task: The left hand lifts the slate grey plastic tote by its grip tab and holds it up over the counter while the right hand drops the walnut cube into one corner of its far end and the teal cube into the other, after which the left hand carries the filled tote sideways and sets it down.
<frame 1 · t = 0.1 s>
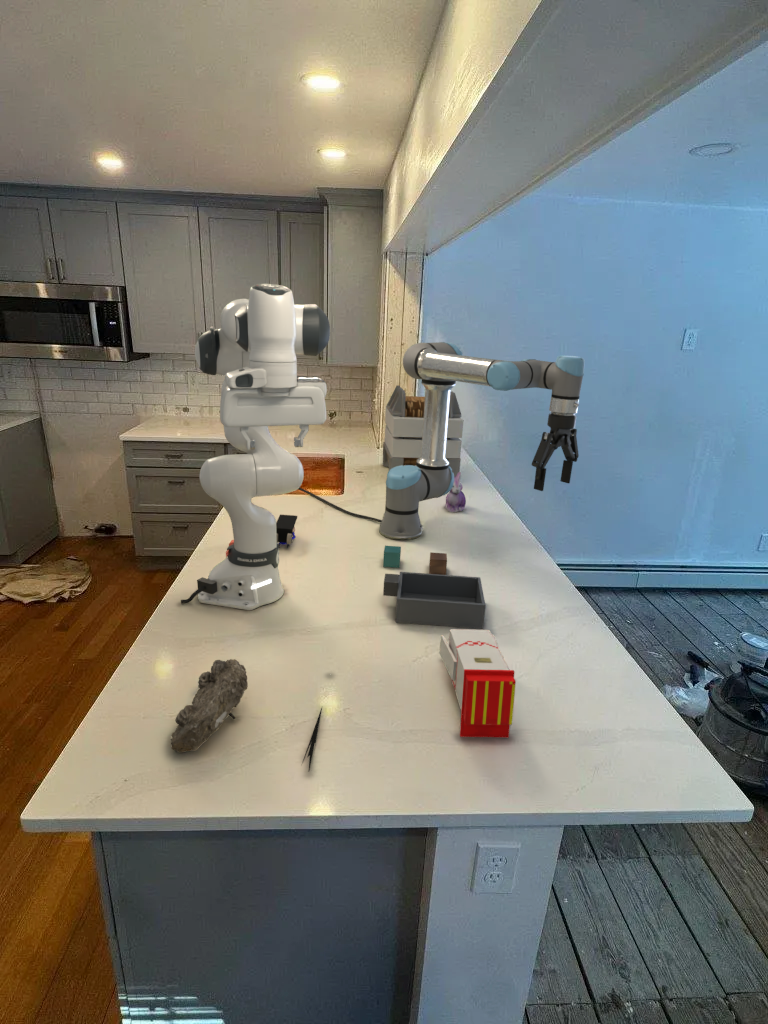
left hand: (275, 447, 112), 48 cm above the counter, fingers open, 8 cm apart
right hand: (551, 486, 166), 28 cm above the counter, fingers open, 13 cm apart
walnut cube: (437, 571, 173), on the counter
bin: (438, 610, 150), on the counter
teal cube: (391, 563, 176), on the counter
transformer: (418, 473, 275), on the counter
figurine: (455, 509, 227), on the counter
feather: (319, 719, 109), on the counter
toy: (471, 691, 119), on the counter
figurine character: (285, 542, 188), on the counter
fossil: (215, 716, 108), on the counter
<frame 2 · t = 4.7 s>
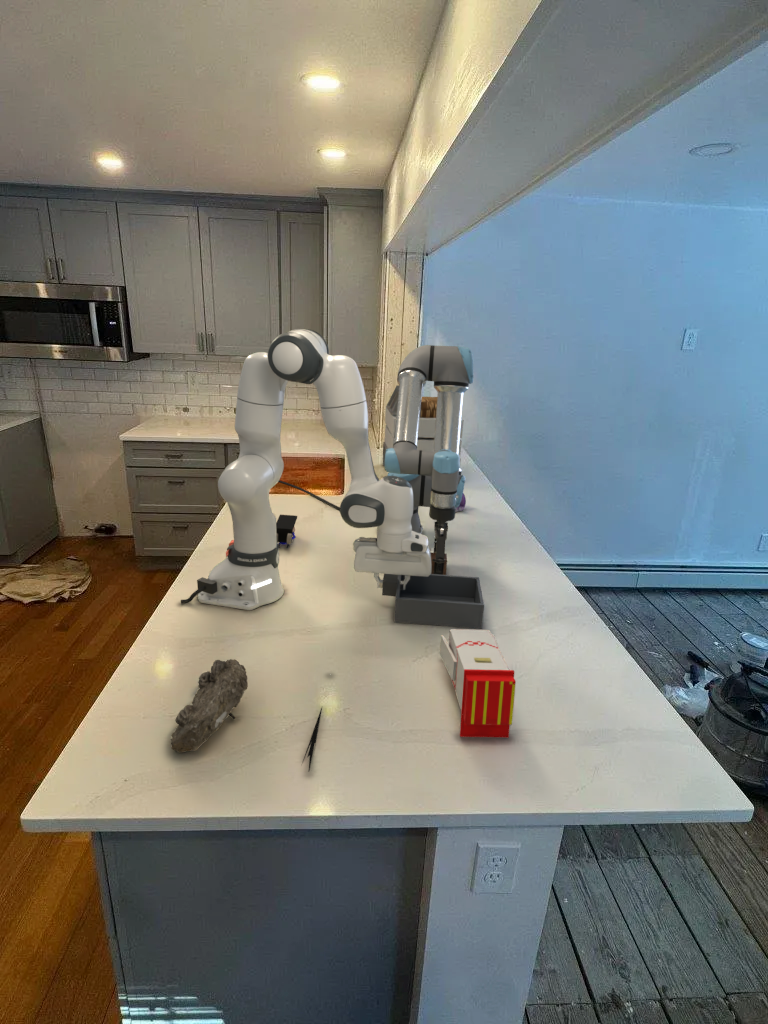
left hand: (391, 587, 149), 6 cm above the counter, fingers closed on bin, 4 cm apart
right hand: (437, 571, 172), 0 cm above the counter, fingers open, 13 cm apart
bin: (437, 610, 150), on the counter, touching left hand
everything else where it was.
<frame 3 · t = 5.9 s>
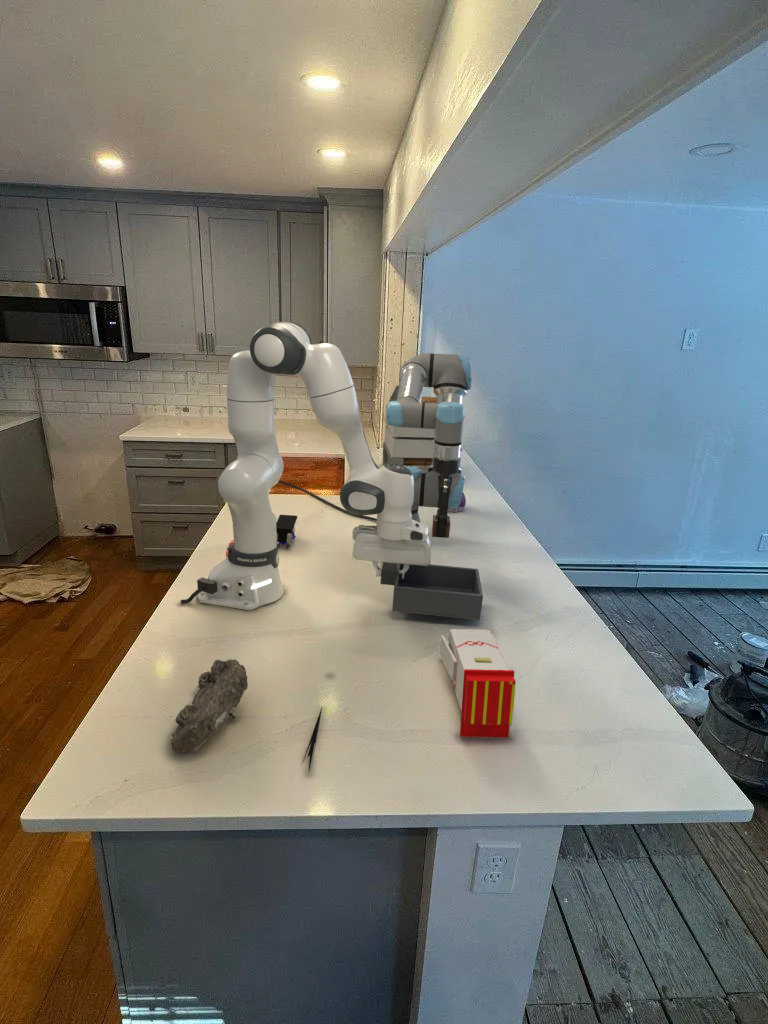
left hand: (390, 576, 148), 9 cm above the counter, fingers closed on bin, 4 cm apart
right hand: (440, 533, 169), 12 cm above the counter, fingers closed on walnut cube, 5 cm apart
walnut cube: (440, 534, 169), point 12 cm above the counter, touching right hand
bin: (435, 600, 149), point 3 cm above the counter, touching left hand
everything else where it was.
when the right hand's fingers open (29 cm above the counter, at t = 9.8 s): walnut cube drops 21 cm, resting on bin.
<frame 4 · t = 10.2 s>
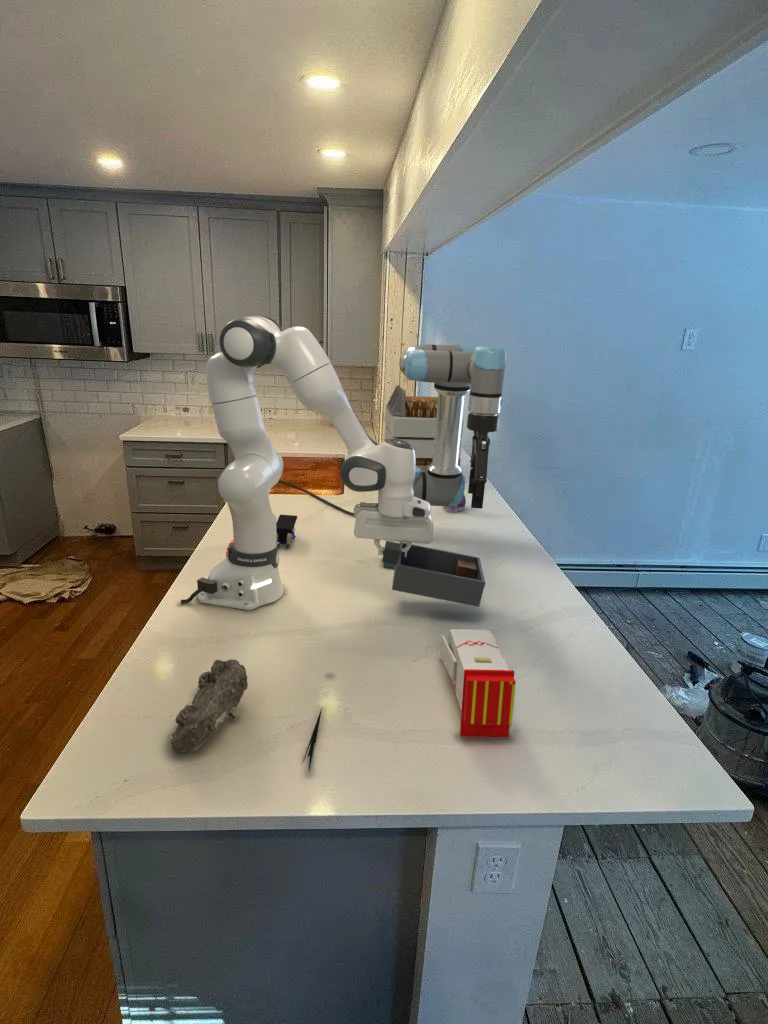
left hand: (392, 555, 146), 15 cm above the counter, fingers closed on bin, 4 cm apart
right hand: (474, 500, 143), 30 cm above the counter, fingers open, 11 cm apart
walnut cube: (462, 580, 151), point 7 cm above the counter, tilted 8°, touching bin
bin: (435, 584, 148), point 8 cm above the counter, tilted 8°, touching left hand, walnut cube
everything else where it was.
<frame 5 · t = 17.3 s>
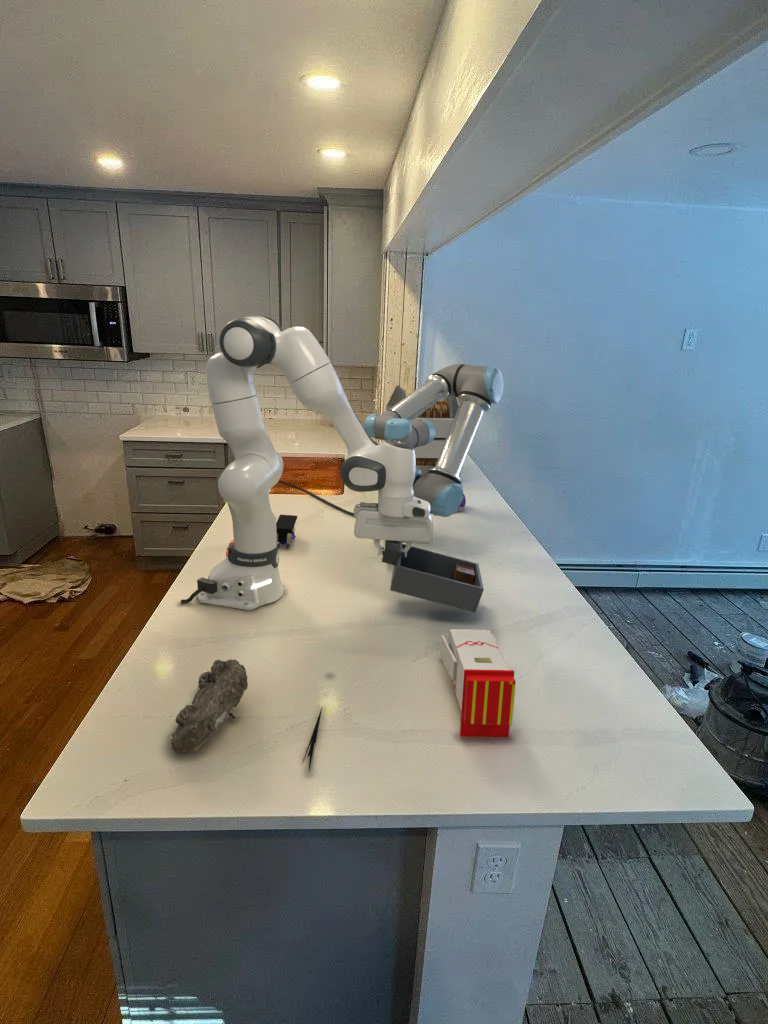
left hand: (392, 555, 146), 15 cm above the counter, fingers closed on bin, 4 cm apart
right hand: (393, 544, 174), 6 cm above the counter, fingers closed on teal cube, 5 cm apart
walnut cube: (460, 585, 152), point 6 cm above the counter, tilted 12°, touching bin
bin: (432, 587, 148), point 7 cm above the counter, tilted 12°, touching left hand, walnut cube
teal cube: (393, 545, 175), point 6 cm above the counter, touching right hand
everything else where it was.
when the right hand's fingers open (29 cm above the counter, at t = 23.2 s): teal cube drops 24 cm and tips over, resting on bin.
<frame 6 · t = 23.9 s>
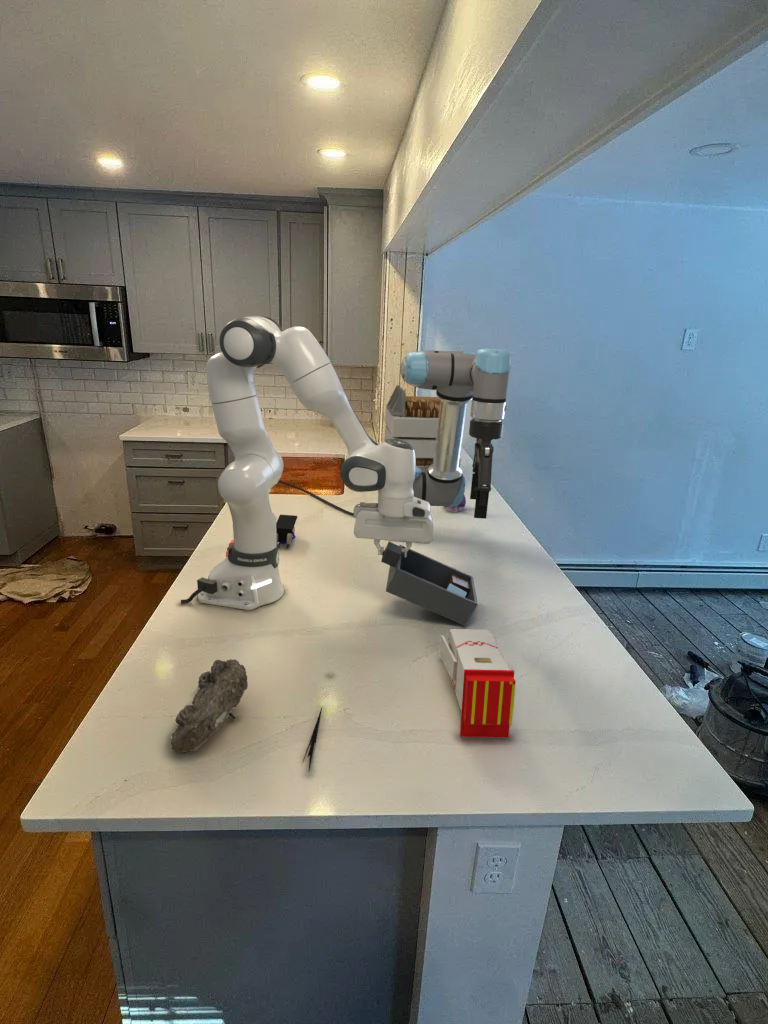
left hand: (392, 555, 146), 15 cm above the counter, fingers closed on bin, 4 cm apart
right hand: (477, 508, 136), 31 cm above the counter, fingers open, 13 cm apart
walnut cube: (452, 596, 153), point 3 cm above the counter, tilted 21°, touching bin
bin: (425, 594, 149), point 5 cm above the counter, tilted 21°, touching left hand, teal cube, walnut cube
teal cube: (461, 603, 145), point 5 cm above the counter, tilted 69°, touching bin
everything else where it was.
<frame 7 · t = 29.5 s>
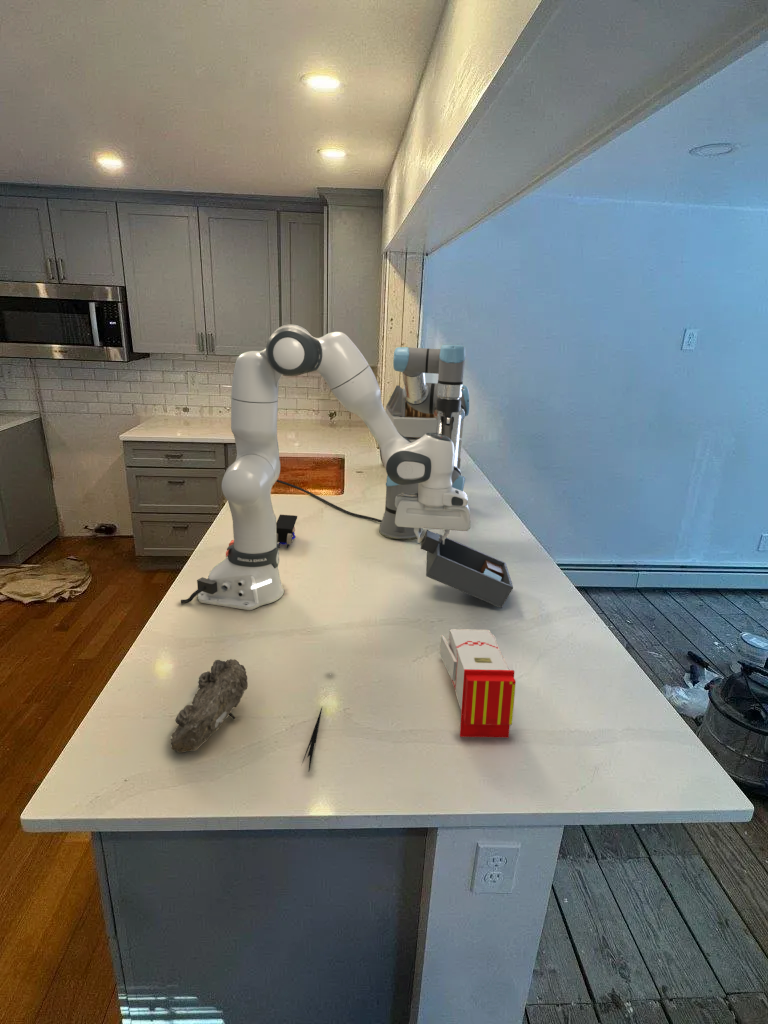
left hand: (430, 542, 154), 15 cm above the counter, fingers closed on bin, 4 cm apart
right hand: (443, 465, 179), 29 cm above the counter, fingers open, 13 cm apart
walnut cube: (486, 581, 161), point 3 cm above the counter, tilted 21°, touching bin
bin: (462, 579, 157), point 5 cm above the counter, tilted 21°, touching left hand, teal cube, walnut cube
teal cube: (496, 587, 153), point 5 cm above the counter, tilted 70°, touching bin
everything else where it was.
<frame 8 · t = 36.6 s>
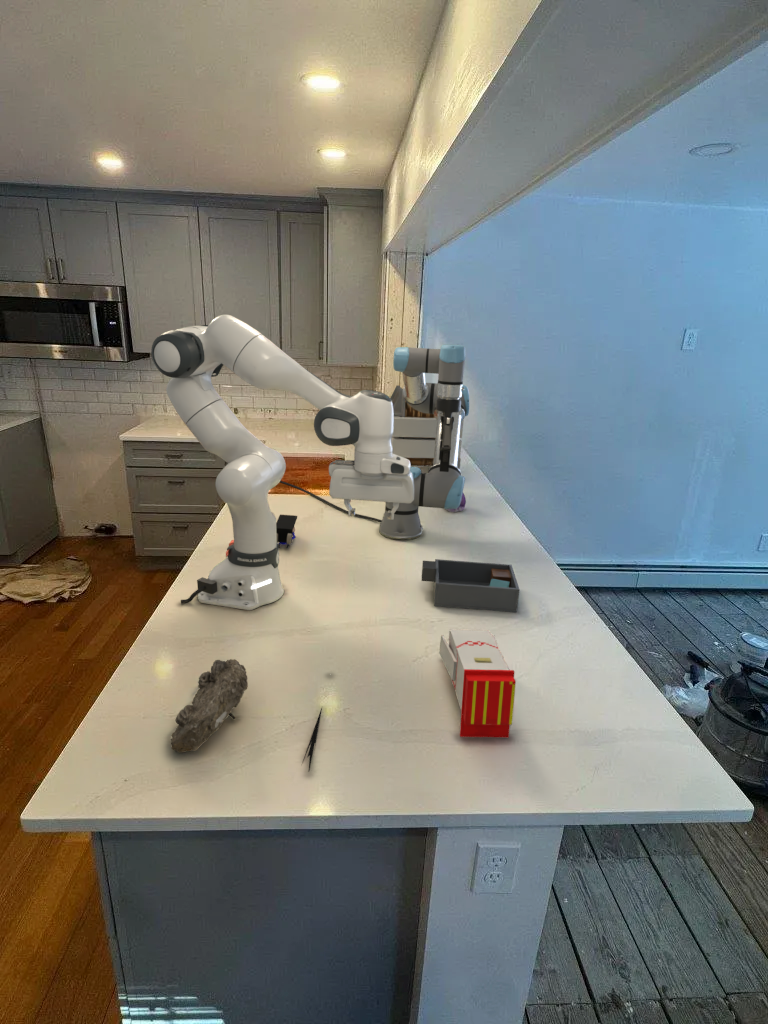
left hand: (371, 517, 137), 27 cm above the counter, fingers open, 8 cm apart
right hand: (443, 465, 179), 29 cm above the counter, fingers open, 13 cm apart
walnut cube: (499, 588, 162), point 1 cm above the counter, touching bin
bin: (472, 595, 159), on the counter, touching teal cube, walnut cube
teal cube: (507, 593, 154), point 3 cm above the counter, tilted 90°, touching bin
everything else where it was.
at the end: walnut cube inside the target area on the bin (8.5 cm from its centre), point 0.8 cm above the bin's base; teal cube inside the target area on the bin (9.7 cm from its centre), point 3.3 cm above the bin's base; bin inside the target area (0.1 cm from its centre), on the counter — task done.
